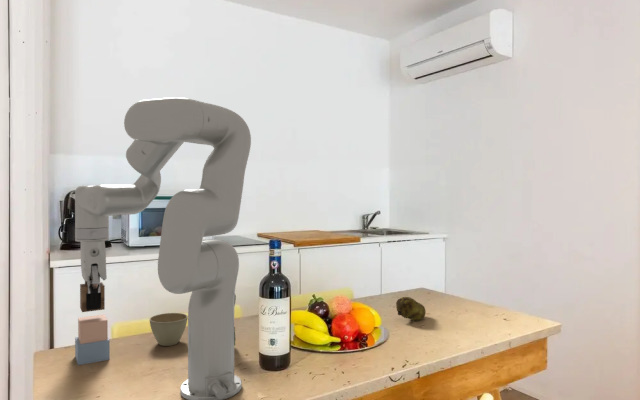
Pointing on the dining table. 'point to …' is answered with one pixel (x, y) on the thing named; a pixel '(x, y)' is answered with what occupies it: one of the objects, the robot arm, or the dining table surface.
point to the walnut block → (84, 291)
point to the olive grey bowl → (168, 327)
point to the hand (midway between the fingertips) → (92, 305)
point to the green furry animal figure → (410, 309)
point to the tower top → (92, 329)
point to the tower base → (91, 351)
